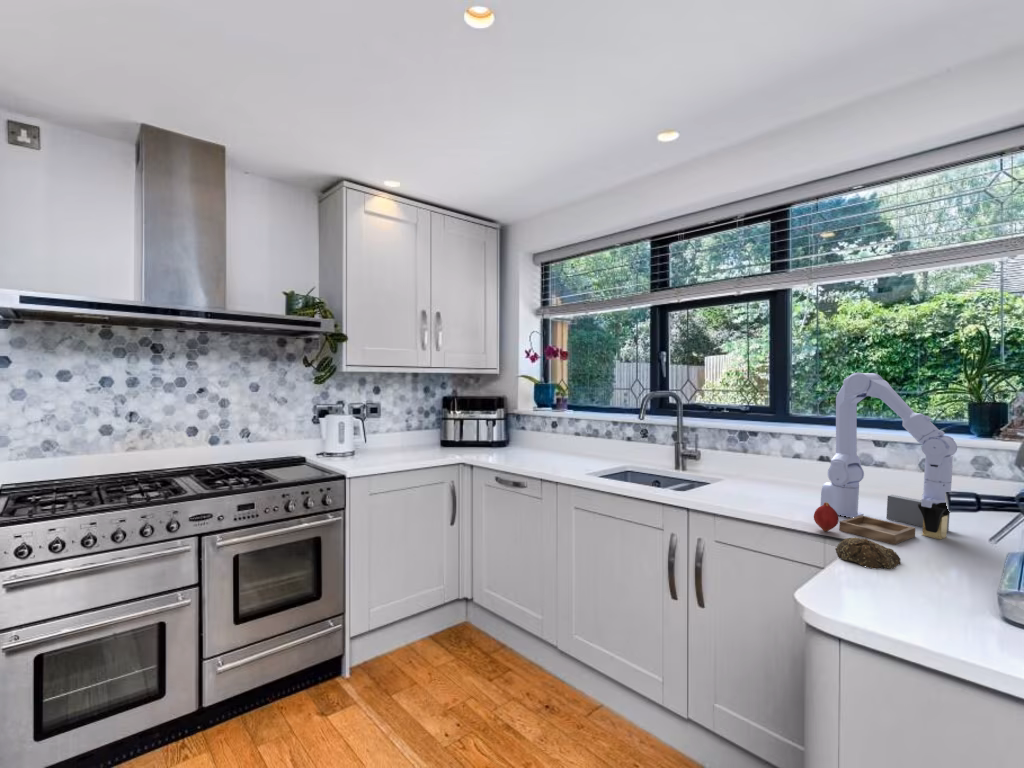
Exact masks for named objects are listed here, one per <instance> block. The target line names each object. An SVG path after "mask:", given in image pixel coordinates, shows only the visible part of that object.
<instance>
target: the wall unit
mask: <svg viewBox="0 0 1024 768" xmlns="http://www.w3.org/2000/svg"><path fill="white" fill-rule="evenodd" d="M886 500H887V501H886V505H887V506H886V518H887V519H886V520H890V519H891V520H890V521H894V520H895V522H900V523H903V524H907V525H912V526H916V527H922V528H923V515H922V513H921V511H920V509H919V508H918V504H919V503H921V501H922V499H916V498H912V497H905V496H901V495H896V494H889V495H887V499H886ZM950 516H951V515H950V514H949V515H948V518H947V532H948V531H949V530H950V529H949V528H950Z"/></svg>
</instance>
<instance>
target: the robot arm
mask: <svg viewBox="0 0 1024 768" xmlns="http://www.w3.org/2000/svg"><path fill="white" fill-rule="evenodd" d="M866 397H872V398H877V399H879V400H881V401H882V402H883V403H884V404H885V405H886V406H888V407H889V408H890V409H891V410H892V411H893V412H894V413H895V414H896V415H898V417H900V418H901V420H902V425H901V426H902V427H903V428H904V429H905V430H906V431H907V432H908V433H909V434H910V435H911V436H912V438H913V439H914V440H916V442H917V443H918V444H919V445H921V447H920V449H921V451H922V453H923V454H924V455H925V459H924V476H923V491H922V492H923V493H922V495H921V500H922V501H921V503H919V504H918V508H919V509H920V511H921V513H922V515H923V519H924V523H925V528H926V531H930V532H934V533H936V532H937V530H938V527H939V522H940V519H941V516H942V515H943V514H944V515H949V514H950V513H951V512H949V511H948V509H947V506H946V502H945V492H951V493H952V482H953V481H952V477H953V459H954V457H953V455H955V454H956V453H957V450H958V445H957V443H956V441H955V439H954V438H953V437H951V436H949V435H945V434H946V433H945V431H944V430H940V429H939V428H938V427H937V426H936V425H935V424H933V422H931V420H932V418H931V417H930V416H929V415H925V414H923V413H918V412H914V410H912V408H911V407H910V406H909V405H908V404H907V403H906V401H905V400H904V399H903V398H902V397H901V396H900V395H899V394H898V393H897V392H896V391H895V389H894V388H893V387H892V386H891V385H890V383H889V382H888V381H886V380H885V379H883V376H881V375H879V373H875V372H869V373H867V372H866V373H865V372H853V373H851V374H850V375H847V376H846V377H845V378H844V379H843V382H842V386H841V388H840V389H839V391H838V392H837V395H836V397H835V453H834V455H833V457H832V458H831V459H830V466H829V468H828V469H827V477H828V479H829V481H830V482H829V481H828V482H827V481H826V482H824V483H823V485H822V487H821V489H820V506H823V505H824V503H825V502H827V503H829V505H830V506H831V507H832V508H833V509H834V510H835V511H836V512H837V514H838V516H840V515H841V516H840V517H844V516H846V517H845V518H848V517H850V518H853V517H857V516H861V515H862V516H864V513H863V512H859V495H860V482H862V480H863V479H864V478H865V477H864V476H865V471H864V469H863V467H862V463H861V459H860V457H859V456H858V455H857V450H858V445H857V442H858V441H857V438H858V436H857V435H858V433H857V430H858V428H857V425H858V424H857V422H858V421H857V417H858V416H857V415H858V414H857V413H858V412H857V410H858V409H857V407H858V406H857V405H858V403H860V402H861V401H862V400H865V398H866ZM949 516H950V515H949ZM850 518H849V519H850Z"/></svg>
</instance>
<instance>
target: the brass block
mask: <svg viewBox="0 0 1024 768" xmlns="http://www.w3.org/2000/svg"><path fill="white" fill-rule="evenodd" d="M947 518H948V515H944V514H943V515H942V516H941V519H940V522H939V527H938V530H937V532H936V533H934V532H930V531H926V528H925V523H924V519H923V527H922V536H924V537H929V538H932V539H937V540H939V541H941V540H943V539H946V538H947V534H948V533H947V532H948V531H947Z"/></svg>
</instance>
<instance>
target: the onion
mask: <svg viewBox="0 0 1024 768" xmlns="http://www.w3.org/2000/svg"><path fill="white" fill-rule="evenodd" d="M813 520H814V523H816V525H817V526H818V527H819V528H821V531H823V532H828V531H830V530H832V529H835V528H836V526H837V525H838V524H839V522H840V520H839V515H838V514H837V512H836V511H835V510H834V509H833V508H832V507H831V506H830V505H829V503H827V502H825V503H824V505H823V506H821V505H820V506H819V507H817V508H816V509H815V511H814V513H813Z"/></svg>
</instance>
